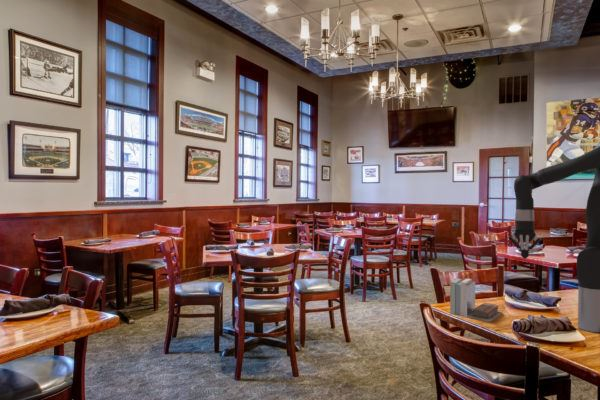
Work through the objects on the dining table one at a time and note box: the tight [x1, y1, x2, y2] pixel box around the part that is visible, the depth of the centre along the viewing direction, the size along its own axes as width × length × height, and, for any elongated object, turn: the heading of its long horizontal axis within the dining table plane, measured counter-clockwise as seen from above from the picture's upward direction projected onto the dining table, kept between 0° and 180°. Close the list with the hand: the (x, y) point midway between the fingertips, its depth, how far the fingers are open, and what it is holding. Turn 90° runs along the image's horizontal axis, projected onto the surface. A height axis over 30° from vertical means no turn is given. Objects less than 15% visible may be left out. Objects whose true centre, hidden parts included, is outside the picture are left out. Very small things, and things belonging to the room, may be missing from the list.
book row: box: [449, 278, 473, 317], centre depth 192 cm, size 7×10×15 cm
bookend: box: [450, 280, 476, 318], centre depth 192 cm, size 8×14×14 cm, turn 143°
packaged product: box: [466, 302, 503, 323], centre depth 187 cm, size 18×5×10 cm
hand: (524, 258), depth 186 cm, fingers closed
